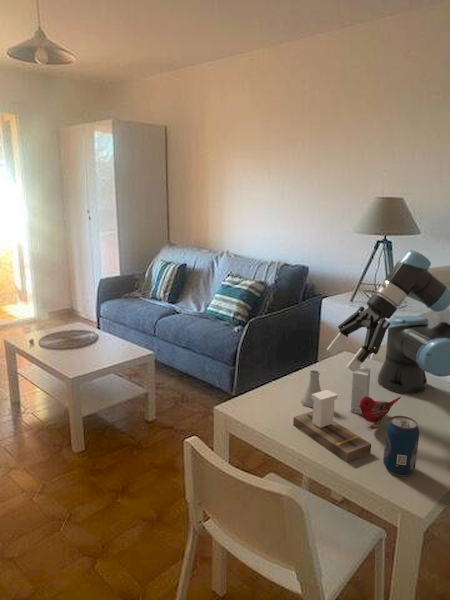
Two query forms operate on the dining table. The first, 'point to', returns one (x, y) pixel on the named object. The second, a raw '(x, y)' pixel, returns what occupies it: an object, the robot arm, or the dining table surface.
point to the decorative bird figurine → (375, 409)
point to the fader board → (334, 438)
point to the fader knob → (323, 408)
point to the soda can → (401, 445)
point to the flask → (311, 388)
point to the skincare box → (360, 388)
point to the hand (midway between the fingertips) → (339, 360)
